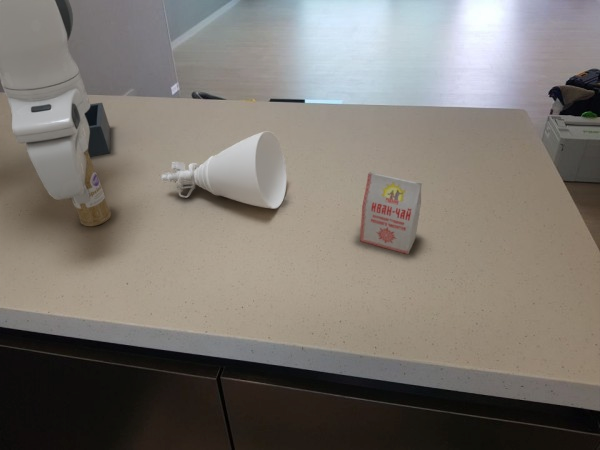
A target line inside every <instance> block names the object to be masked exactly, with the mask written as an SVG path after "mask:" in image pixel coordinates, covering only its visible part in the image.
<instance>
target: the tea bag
mask: <svg viewBox="0 0 600 450" xmlns="http://www.w3.org/2000/svg"><path fill="white" fill-rule="evenodd" d="M422 185H423V184H422V183H421V182H417V181H413V180H409V179H404V178H399V177H393V176H389V175H384V174H381V173H380V174H379V173H375V172H371V171H369V172H368V173H367V180H366V185H365V191H364V195H363V201H362V208H361V220H360V221H361V222H360V237H359V238H360V239H359V241H360V242H362V243H365V244H369V245H373V246H377V247H379V248H384V249H387V250H391V251H395V252H398V253H401V254H402V253H403V254H405V255H409V253H410V251H411V250H412V247H413V244H414V242H415V240H416V238H417V231H418V224H419V219H420V212H421V206H422Z"/></svg>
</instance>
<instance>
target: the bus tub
mask: <svg viewBox="0 0 600 450" xmlns="http://www.w3.org/2000/svg"><path fill="white" fill-rule="evenodd" d="M85 117H86V119H87V122H88V125H89V130H90V135H89V144H88V153H89V156H90V158H91V157H96V156H101V155H107V154H110V153H111V126H110V123H109V120H108V117H107V114H106V110H105V108H104V104H103V102H97V103H90V108H89V110H88V111H87V112H86V113H85Z"/></svg>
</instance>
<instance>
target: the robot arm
mask: <svg viewBox="0 0 600 450" xmlns="http://www.w3.org/2000/svg"><path fill="white" fill-rule="evenodd" d="M73 25H74V14H73V9H72V6H71V2H70V0H0V83H1V87H2V89H3V91H4V93H5V97H6V98H7V103H8V106H9V108H10V111H11V114H10V115H11V131H12V133H13V136H14V138H15V140H16V141H17V143H19V144H25V149H26V151H27V152H26V153H27V154H28V157H29V160H30V162H31V164H32V166H33V167H34V170H35V171H36V173H37V176H38V178H39V180H40V181H41V183H42V185H43V187H44V188H45V190H46V192H47V193H48V194H49V195H50V196H51V198H53V199H54V200H57V201H60V200H66V199H71V197H75V200H76V202H77V203H78V204H83V203H88V202H89V201H90V192H89V190H88V187H87V186H85V174H86V164H87V160H86V156H85V154H84V152H83V150H82V148H81V145H80V142H79V137H80V133H81V134H82V135H83V136H84V138H85V140H86V143H87V146H88V144H89V135H90V130H89V125H88V122H87V119H86V117H85V113H86V112H87V111H88V110H89V108H90V104H91V102H90V98H89V95H88V92H87V89H86V86H85V83H84V81H83V78H82V75H81V71H80V68H79V67H78V64H77V63H76V61H75V60H74V59H73V56H72V55H71V53H70V49H69V43H68V42H69V39H70V38H71V34H72V31H73ZM87 149H88V148H87Z"/></svg>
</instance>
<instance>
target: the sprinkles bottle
mask: <svg viewBox="0 0 600 450" xmlns="http://www.w3.org/2000/svg"><path fill="white" fill-rule="evenodd" d="M79 142H80V145H81V148H82V150H83V152H84V154H85V156H86V160H87V164H86V174H85V186H87V187H88V190H89V192H90V201H89V202H88V203H83V204H78V203H77V202H76V200H75V197H71V198H70V199H71V201H72V203H73V204H72V205H73V206H74V207H75V209H76V212H77V214H78V216H79V221H80V223H81V224H82V225H83V226H87V227H96V226H99V225H102V224H105V223H106V222H107V221H108V220H110V218H111V217H112V211H111V210H110V208H109V205H108V203H107V200H106V197H105V196H106V195H105V193H104V190H103V187H102V185H101V182H100V179H99V176H98V174H97V172H96V169H95V167H94V164H93V162H92V159H91V157H90V156H89V153H88V149H87V148H88V146H87V143H86V140H85V138H84V136H83V135H82V134H81V133H80V137H79Z"/></svg>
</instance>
